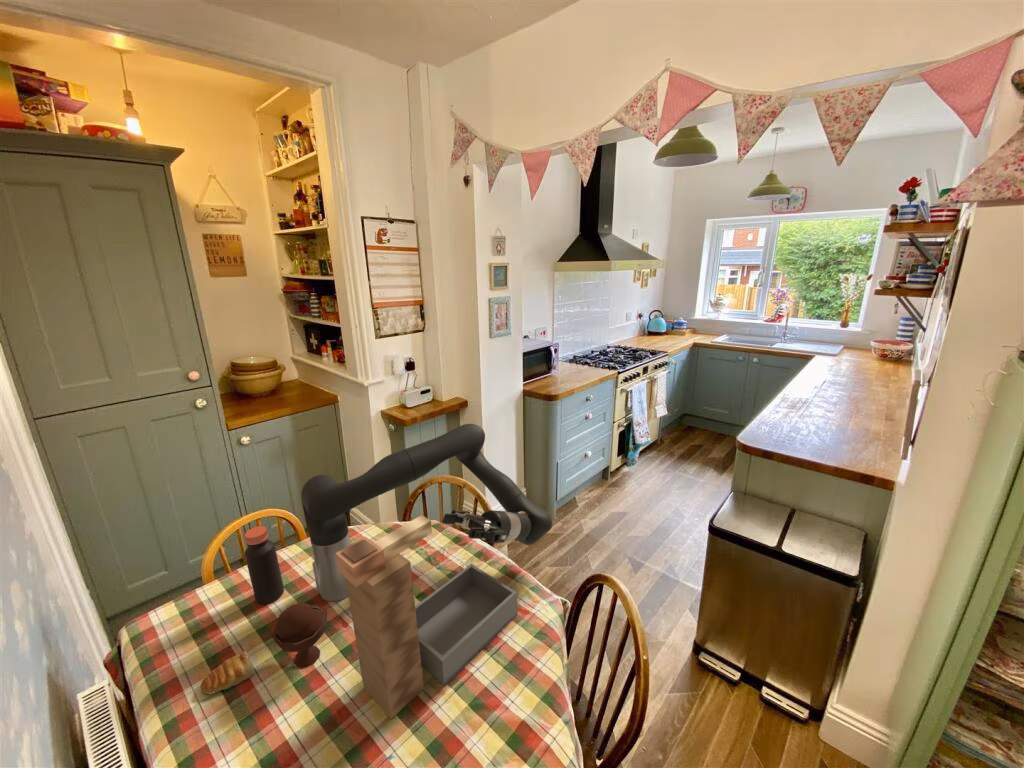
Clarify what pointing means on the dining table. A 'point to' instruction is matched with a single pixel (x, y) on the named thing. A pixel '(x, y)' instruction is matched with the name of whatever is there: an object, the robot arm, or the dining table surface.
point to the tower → (388, 635)
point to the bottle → (263, 566)
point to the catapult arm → (379, 551)
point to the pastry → (228, 674)
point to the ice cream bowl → (301, 632)
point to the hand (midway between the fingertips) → (457, 525)
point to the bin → (462, 621)
